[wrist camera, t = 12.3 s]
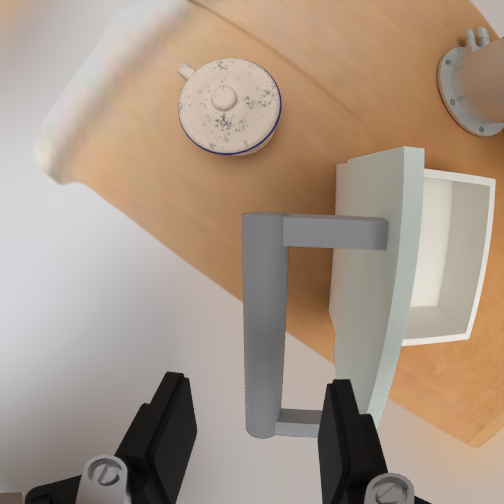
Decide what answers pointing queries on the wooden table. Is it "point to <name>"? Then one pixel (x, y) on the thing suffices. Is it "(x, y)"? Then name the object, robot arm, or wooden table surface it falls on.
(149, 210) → the wooden table surface
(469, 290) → the carton
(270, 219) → the carton lid
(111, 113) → the wooden table surface
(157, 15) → the wooden table surface
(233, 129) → the teacup with lid
